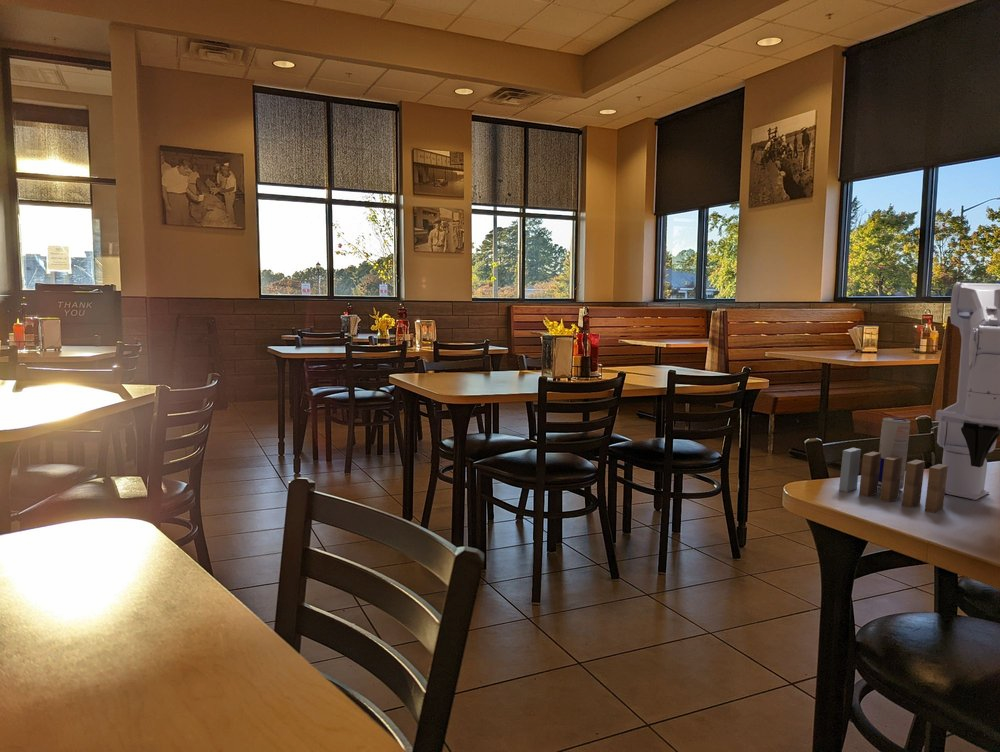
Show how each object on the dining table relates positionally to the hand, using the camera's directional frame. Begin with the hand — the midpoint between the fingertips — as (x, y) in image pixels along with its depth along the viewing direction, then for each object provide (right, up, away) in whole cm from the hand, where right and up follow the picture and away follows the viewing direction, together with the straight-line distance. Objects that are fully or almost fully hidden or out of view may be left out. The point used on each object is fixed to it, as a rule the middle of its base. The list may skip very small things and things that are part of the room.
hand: (976, 465), depth 126 cm
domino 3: (-9, -8, +12) cm, 17 cm away
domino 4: (-7, -9, +9) cm, 14 cm away
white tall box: (-5, -8, +19) cm, 21 cm away
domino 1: (-15, -7, +18) cm, 24 cm away
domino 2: (-12, -8, +15) cm, 20 cm away
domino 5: (-4, -9, +6) cm, 11 cm away
